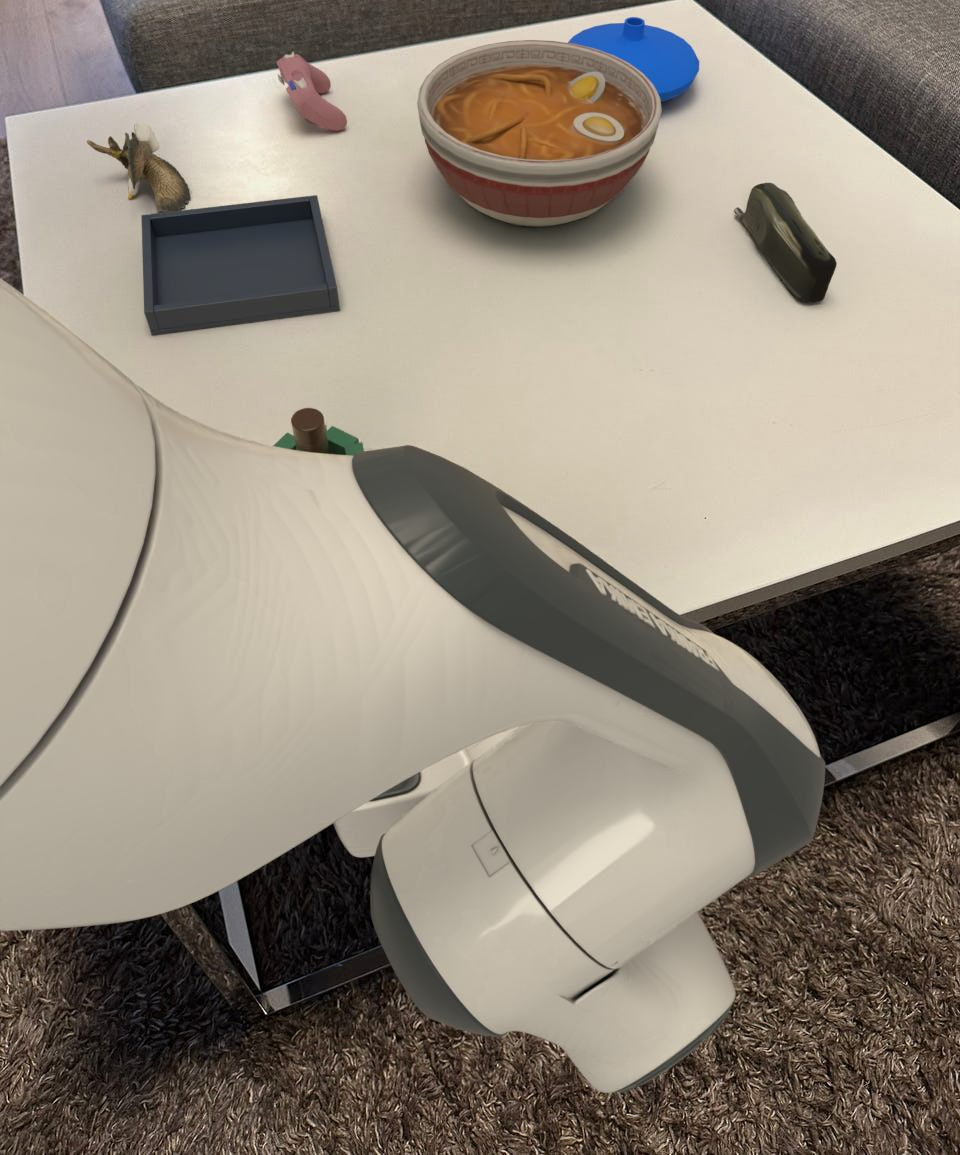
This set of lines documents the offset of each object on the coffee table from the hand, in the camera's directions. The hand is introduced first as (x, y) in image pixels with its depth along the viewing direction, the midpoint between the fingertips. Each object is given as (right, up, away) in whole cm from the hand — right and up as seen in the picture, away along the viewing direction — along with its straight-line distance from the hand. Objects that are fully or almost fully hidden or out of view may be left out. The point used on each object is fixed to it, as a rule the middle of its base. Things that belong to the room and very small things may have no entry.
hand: (380, 570), depth 57 cm
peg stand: (-5, +1, +13) cm, 14 cm away
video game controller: (-13, +51, +50) cm, 72 cm away
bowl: (+11, +38, +41) cm, 57 cm away
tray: (-16, +28, +32) cm, 46 cm away
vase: (+23, +56, +54) cm, 81 cm away
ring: (-5, +6, +6) cm, 10 cm away
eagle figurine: (-27, +38, +40) cm, 62 cm away
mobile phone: (+34, +30, +35) cm, 57 cm away
